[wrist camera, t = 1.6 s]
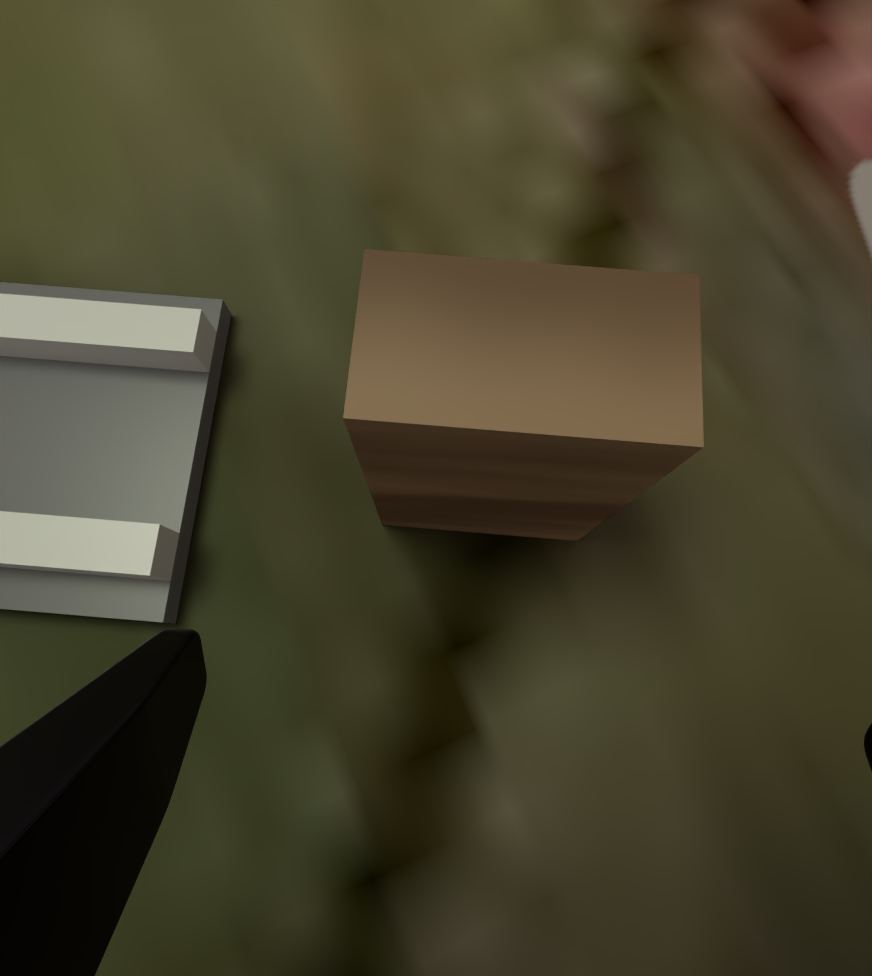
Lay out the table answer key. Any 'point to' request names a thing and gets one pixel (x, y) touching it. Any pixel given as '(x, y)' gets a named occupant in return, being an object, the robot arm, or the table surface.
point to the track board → (102, 446)
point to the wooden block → (519, 390)
